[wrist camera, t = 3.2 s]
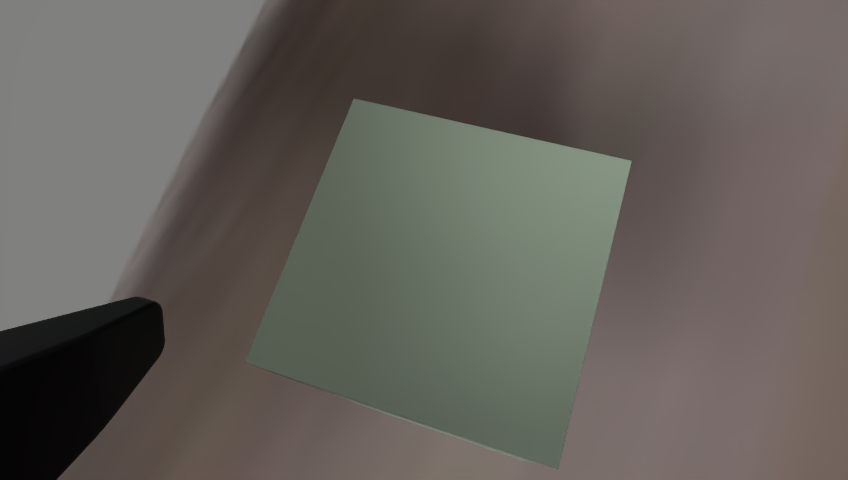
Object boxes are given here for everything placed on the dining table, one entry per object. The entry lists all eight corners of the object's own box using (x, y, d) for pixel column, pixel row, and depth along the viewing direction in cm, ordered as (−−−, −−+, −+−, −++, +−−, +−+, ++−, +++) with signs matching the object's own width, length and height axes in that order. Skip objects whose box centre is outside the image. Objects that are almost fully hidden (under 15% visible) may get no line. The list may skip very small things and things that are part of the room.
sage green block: (521, 460, 18) (558, 468, 7) (382, 412, 19) (244, 362, 8) (557, 318, 19) (631, 160, 9) (426, 281, 20) (353, 98, 10)
